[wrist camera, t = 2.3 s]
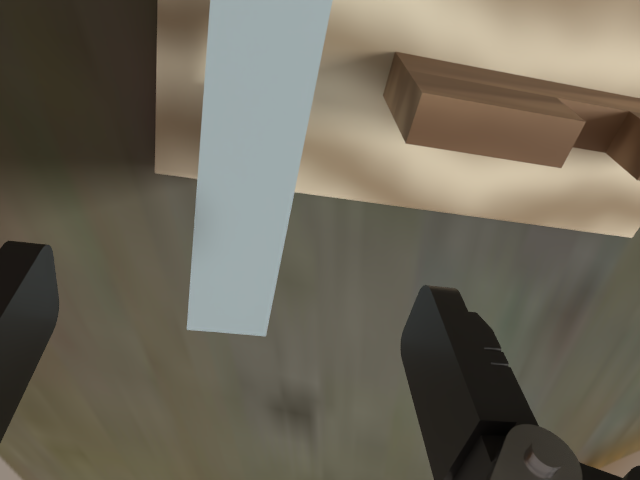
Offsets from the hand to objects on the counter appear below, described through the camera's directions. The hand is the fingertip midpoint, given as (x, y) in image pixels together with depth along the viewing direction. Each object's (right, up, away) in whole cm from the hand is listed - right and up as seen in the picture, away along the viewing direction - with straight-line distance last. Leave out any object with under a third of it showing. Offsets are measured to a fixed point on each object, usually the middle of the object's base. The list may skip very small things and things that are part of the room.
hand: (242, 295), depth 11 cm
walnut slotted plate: (+15, +9, +18) cm, 25 cm away
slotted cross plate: (-1, +11, +15) cm, 18 cm away
